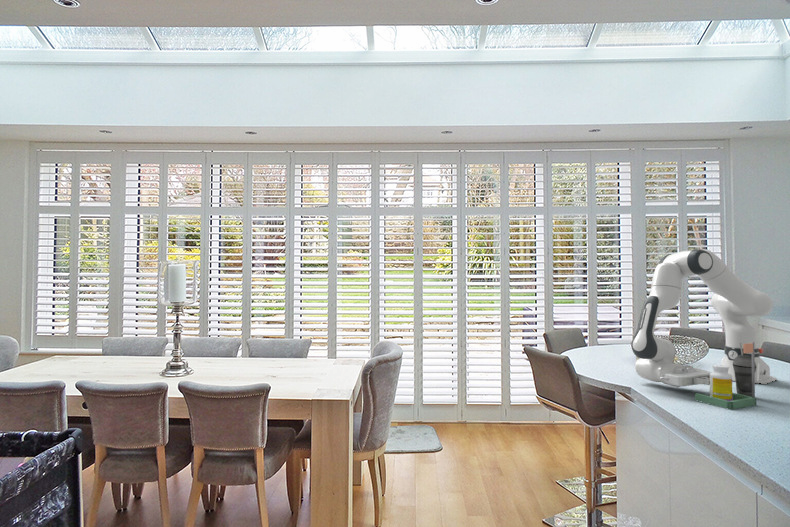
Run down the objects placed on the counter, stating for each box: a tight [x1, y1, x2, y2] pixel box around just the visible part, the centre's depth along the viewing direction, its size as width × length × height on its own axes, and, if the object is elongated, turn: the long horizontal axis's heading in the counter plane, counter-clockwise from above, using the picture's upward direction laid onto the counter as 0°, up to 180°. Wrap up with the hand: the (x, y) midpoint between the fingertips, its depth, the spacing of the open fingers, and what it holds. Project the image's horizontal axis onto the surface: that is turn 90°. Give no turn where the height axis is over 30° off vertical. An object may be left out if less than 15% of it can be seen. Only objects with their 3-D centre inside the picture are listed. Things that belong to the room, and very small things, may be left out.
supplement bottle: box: [709, 364, 733, 401], centre depth 166 cm, size 7×7×13 cm
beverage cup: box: [733, 343, 756, 397], centre depth 174 cm, size 7×7×20 cm
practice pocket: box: [694, 342, 757, 410], centre depth 165 cm, size 14×12×22 cm
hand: (711, 382), depth 169 cm, fingers closed, pressing on supplement bottle
